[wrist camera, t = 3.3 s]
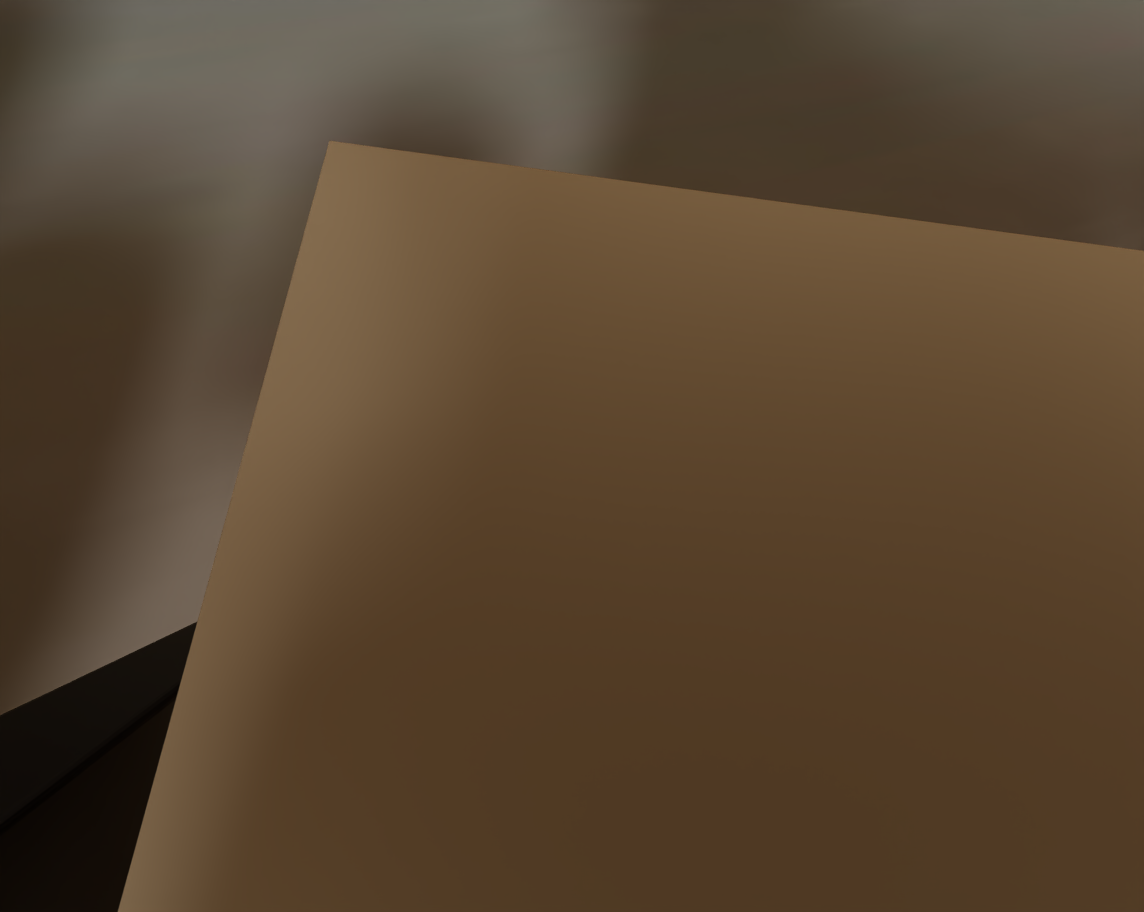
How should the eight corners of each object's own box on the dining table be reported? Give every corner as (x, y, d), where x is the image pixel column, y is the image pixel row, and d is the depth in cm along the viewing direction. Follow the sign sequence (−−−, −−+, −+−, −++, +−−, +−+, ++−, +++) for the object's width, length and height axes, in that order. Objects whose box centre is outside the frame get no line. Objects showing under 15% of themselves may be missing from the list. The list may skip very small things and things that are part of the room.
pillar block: (697, 999, 13) (2185, 2119, 2) (397, 981, 13) (-240, 2208, 1) (697, 694, 16) (1367, 279, 4) (440, 671, 15) (329, 139, 4)
